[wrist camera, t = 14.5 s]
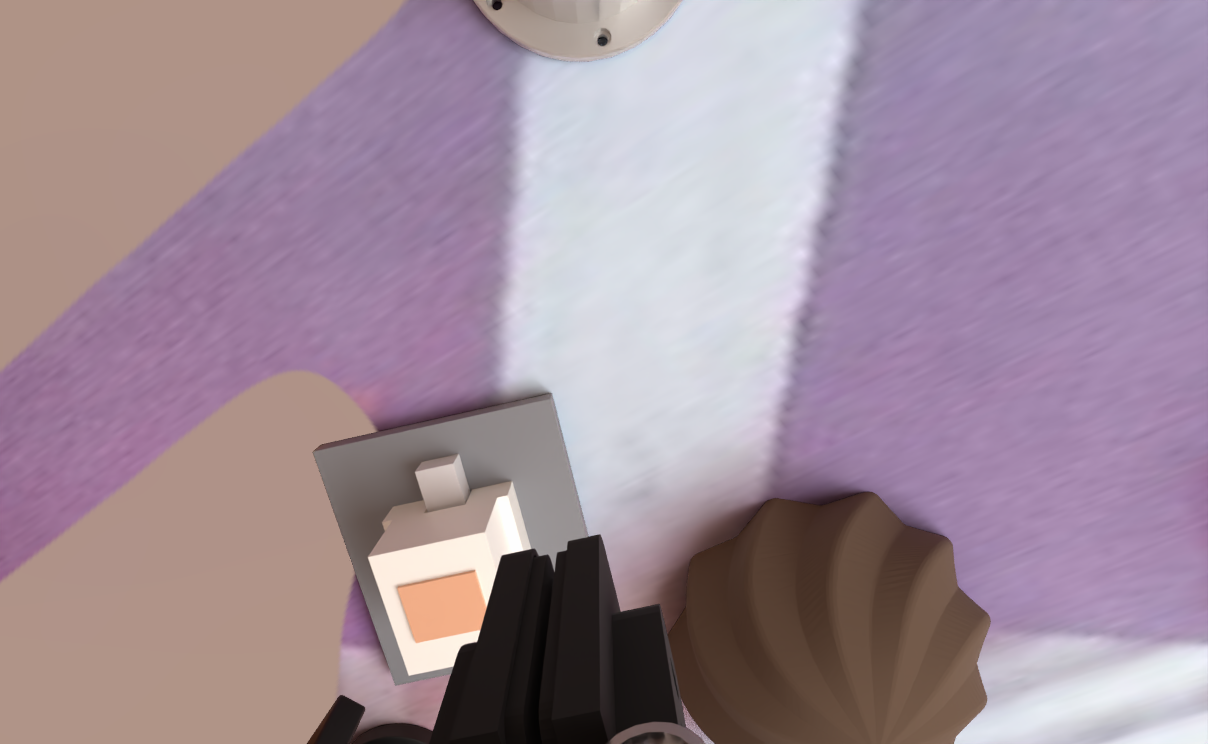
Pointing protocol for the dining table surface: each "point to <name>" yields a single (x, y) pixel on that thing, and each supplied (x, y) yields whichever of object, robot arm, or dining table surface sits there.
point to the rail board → (486, 464)
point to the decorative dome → (829, 631)
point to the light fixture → (385, 740)
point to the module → (444, 571)
